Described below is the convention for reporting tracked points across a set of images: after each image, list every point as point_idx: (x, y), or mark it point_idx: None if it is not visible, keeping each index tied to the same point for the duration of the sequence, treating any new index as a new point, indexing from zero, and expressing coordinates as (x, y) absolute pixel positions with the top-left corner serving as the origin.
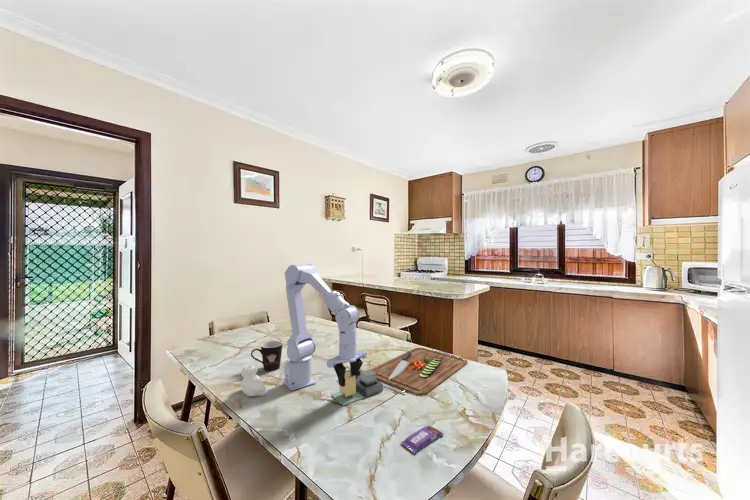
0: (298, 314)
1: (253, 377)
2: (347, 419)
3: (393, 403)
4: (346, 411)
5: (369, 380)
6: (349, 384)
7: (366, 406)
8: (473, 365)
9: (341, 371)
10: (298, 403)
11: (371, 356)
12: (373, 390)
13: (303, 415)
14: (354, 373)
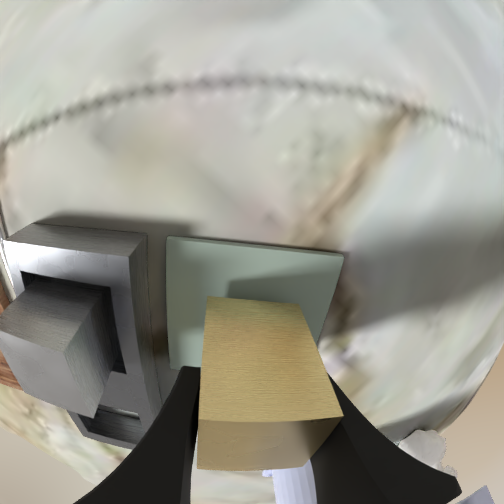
0: None
1: (435, 467)
2: (413, 129)
3: (72, 58)
4: (369, 193)
5: (59, 315)
6: (278, 363)
7: (230, 135)
8: None
9: (430, 476)
10: (415, 376)
11: (20, 422)
12: (77, 239)
13: (465, 303)
14: (189, 443)
